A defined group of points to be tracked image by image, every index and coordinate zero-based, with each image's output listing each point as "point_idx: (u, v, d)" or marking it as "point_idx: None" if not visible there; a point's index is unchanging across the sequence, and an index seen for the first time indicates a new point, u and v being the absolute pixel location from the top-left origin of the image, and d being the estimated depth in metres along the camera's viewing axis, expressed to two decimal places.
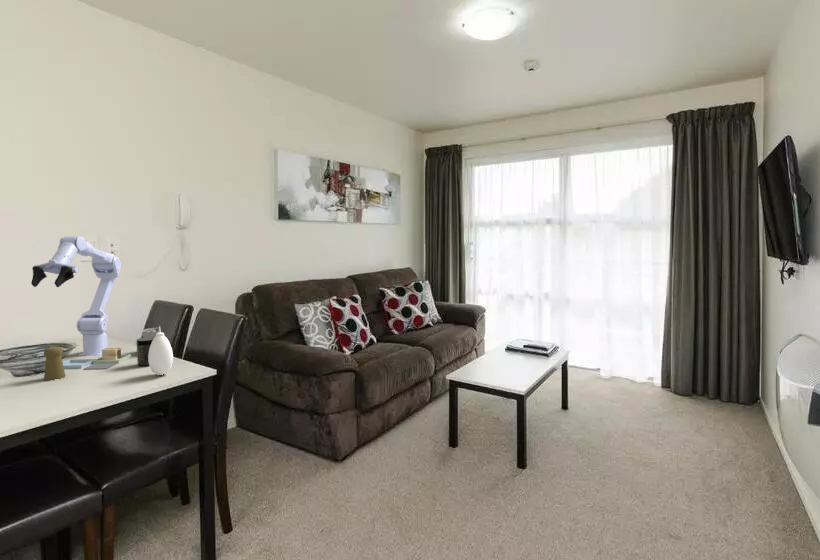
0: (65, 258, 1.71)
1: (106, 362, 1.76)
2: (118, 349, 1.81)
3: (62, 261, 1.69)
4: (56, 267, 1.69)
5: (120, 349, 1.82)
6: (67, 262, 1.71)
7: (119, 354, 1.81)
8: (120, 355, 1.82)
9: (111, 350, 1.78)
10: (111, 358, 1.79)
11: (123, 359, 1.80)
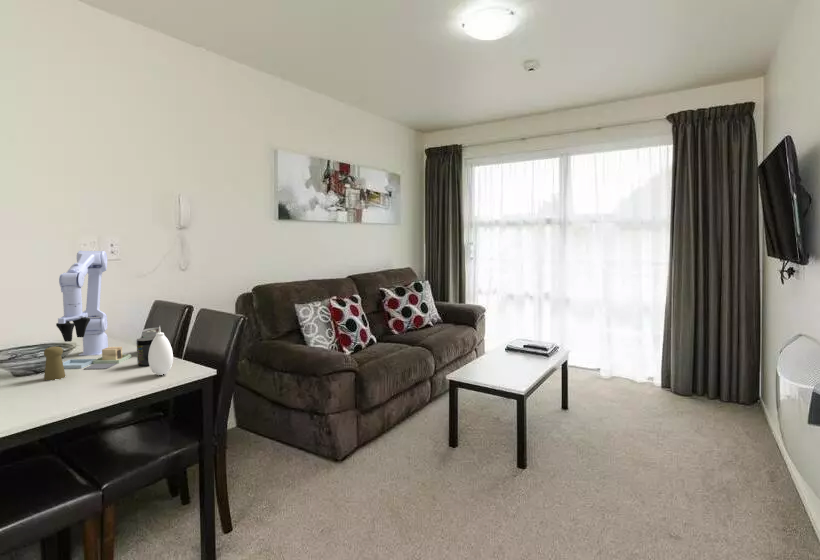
0: None
1: (106, 362, 1.76)
2: (118, 349, 1.81)
3: None
4: None
5: (120, 349, 1.82)
6: None
7: (119, 354, 1.81)
8: (120, 355, 1.82)
9: (111, 350, 1.78)
10: (111, 358, 1.79)
11: (123, 359, 1.80)
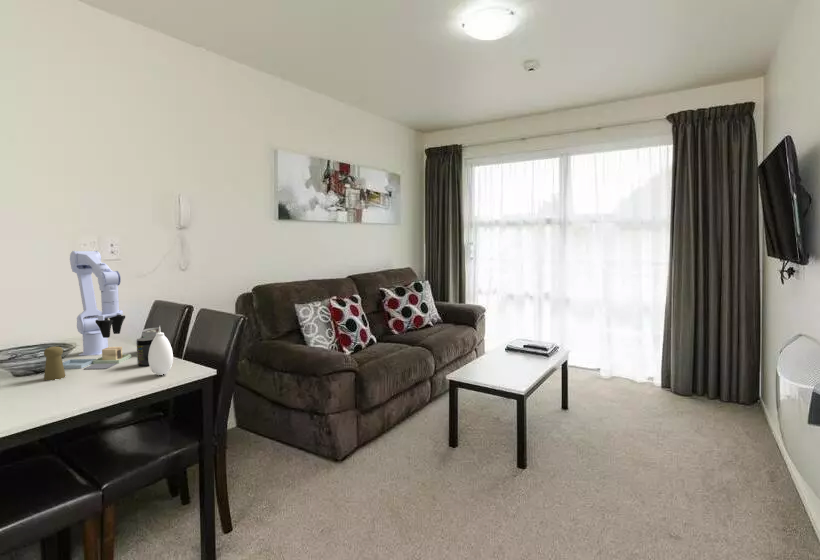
0: None
1: (106, 362, 1.76)
2: (118, 349, 1.81)
3: None
4: None
5: (120, 349, 1.82)
6: None
7: (119, 354, 1.81)
8: (120, 355, 1.82)
9: (111, 350, 1.78)
10: (111, 358, 1.79)
11: (123, 359, 1.80)
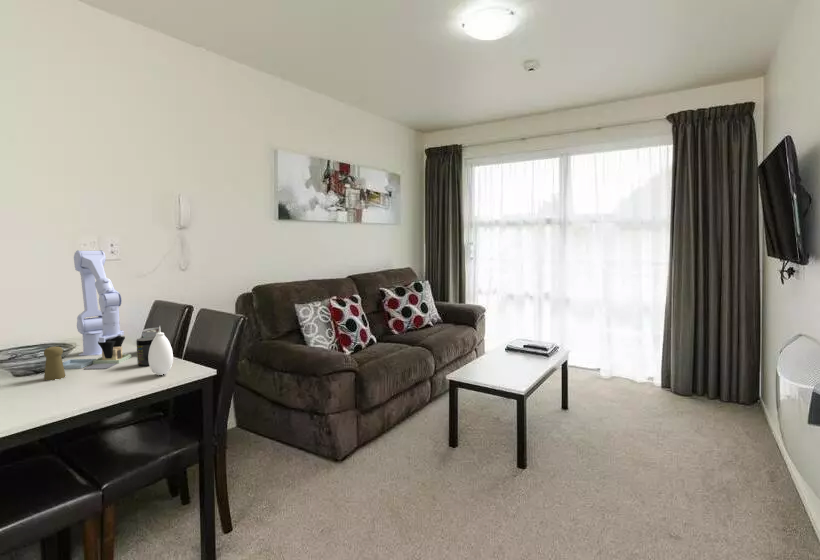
0: None
1: (106, 362, 1.76)
2: (118, 349, 1.81)
3: None
4: None
5: (120, 349, 1.82)
6: None
7: (119, 354, 1.81)
8: (120, 355, 1.82)
9: None
10: (111, 358, 1.79)
11: (123, 359, 1.80)
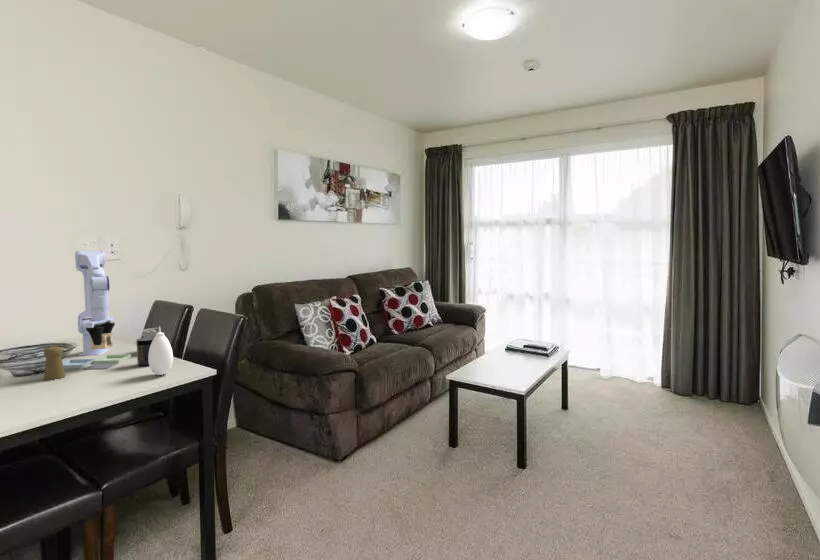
0: None
1: (106, 362, 1.76)
2: (108, 335, 1.72)
3: None
4: None
5: (110, 336, 1.74)
6: None
7: (109, 341, 1.73)
8: (110, 342, 1.74)
9: None
10: (100, 345, 1.70)
11: (123, 359, 1.80)
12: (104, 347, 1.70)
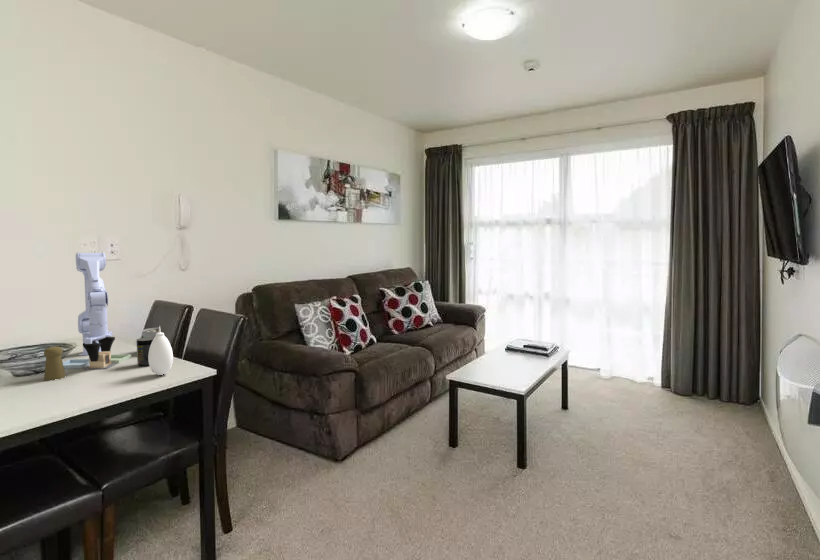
0: None
1: None
2: (106, 354, 1.71)
3: None
4: None
5: (108, 354, 1.73)
6: None
7: (107, 359, 1.72)
8: (108, 360, 1.73)
9: (99, 355, 1.69)
10: (99, 364, 1.69)
11: (123, 359, 1.80)
12: (103, 366, 1.69)
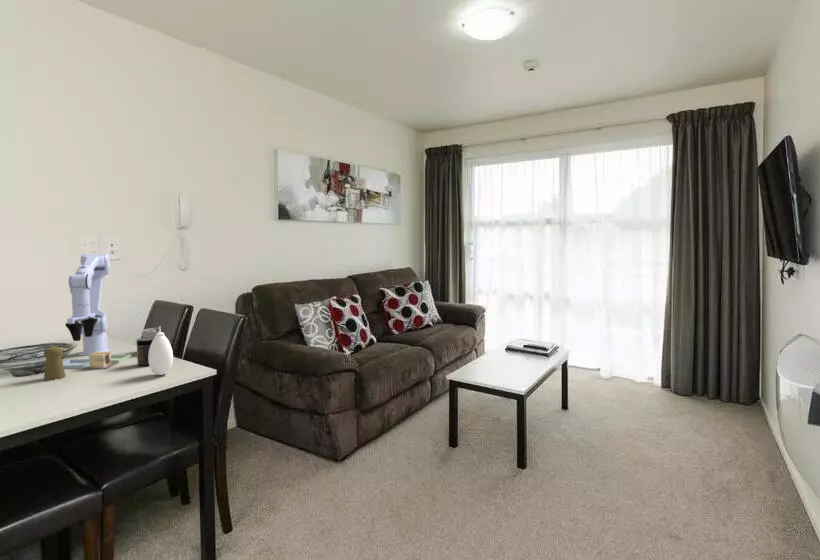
0: None
1: None
2: (106, 354, 1.71)
3: None
4: None
5: (108, 354, 1.73)
6: None
7: (107, 359, 1.72)
8: (108, 360, 1.73)
9: (99, 355, 1.69)
10: (99, 364, 1.69)
11: (123, 359, 1.80)
12: (103, 366, 1.69)
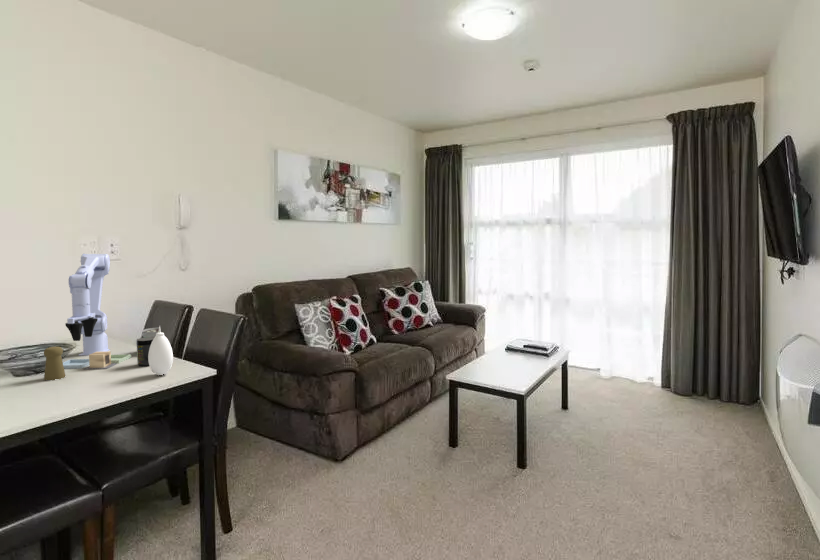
0: None
1: None
2: (106, 354, 1.71)
3: None
4: None
5: (108, 354, 1.73)
6: None
7: (107, 359, 1.72)
8: (108, 360, 1.73)
9: (99, 355, 1.69)
10: (99, 364, 1.69)
11: (123, 359, 1.80)
12: (103, 366, 1.69)
